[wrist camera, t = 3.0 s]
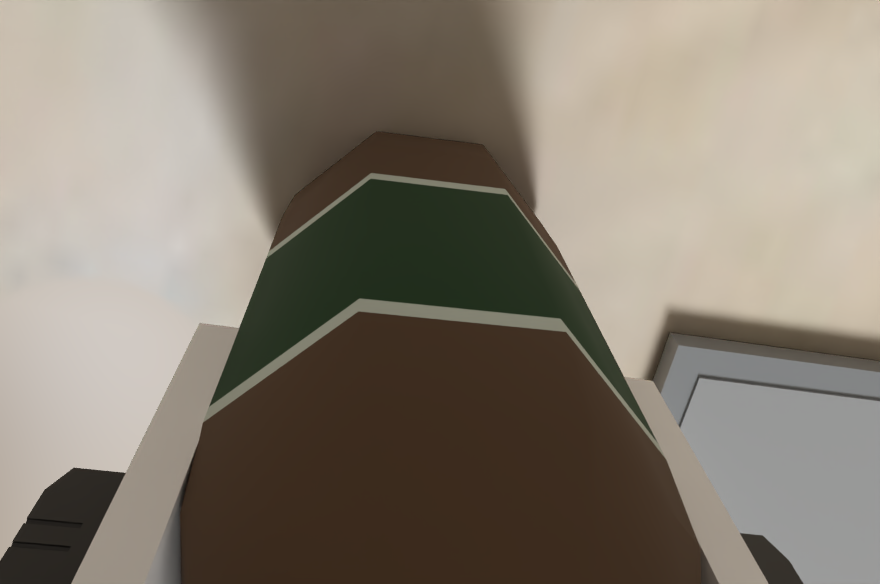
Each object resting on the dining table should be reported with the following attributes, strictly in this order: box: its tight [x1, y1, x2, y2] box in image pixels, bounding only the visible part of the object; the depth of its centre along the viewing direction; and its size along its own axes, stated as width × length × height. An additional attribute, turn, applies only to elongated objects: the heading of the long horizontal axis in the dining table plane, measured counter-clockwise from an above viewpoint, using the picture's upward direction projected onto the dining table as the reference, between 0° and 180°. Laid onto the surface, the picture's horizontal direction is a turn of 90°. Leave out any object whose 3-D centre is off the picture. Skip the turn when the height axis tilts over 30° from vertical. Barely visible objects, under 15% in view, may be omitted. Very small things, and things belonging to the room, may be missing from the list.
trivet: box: [653, 333, 880, 584], centre depth 27 cm, size 13×13×1 cm
